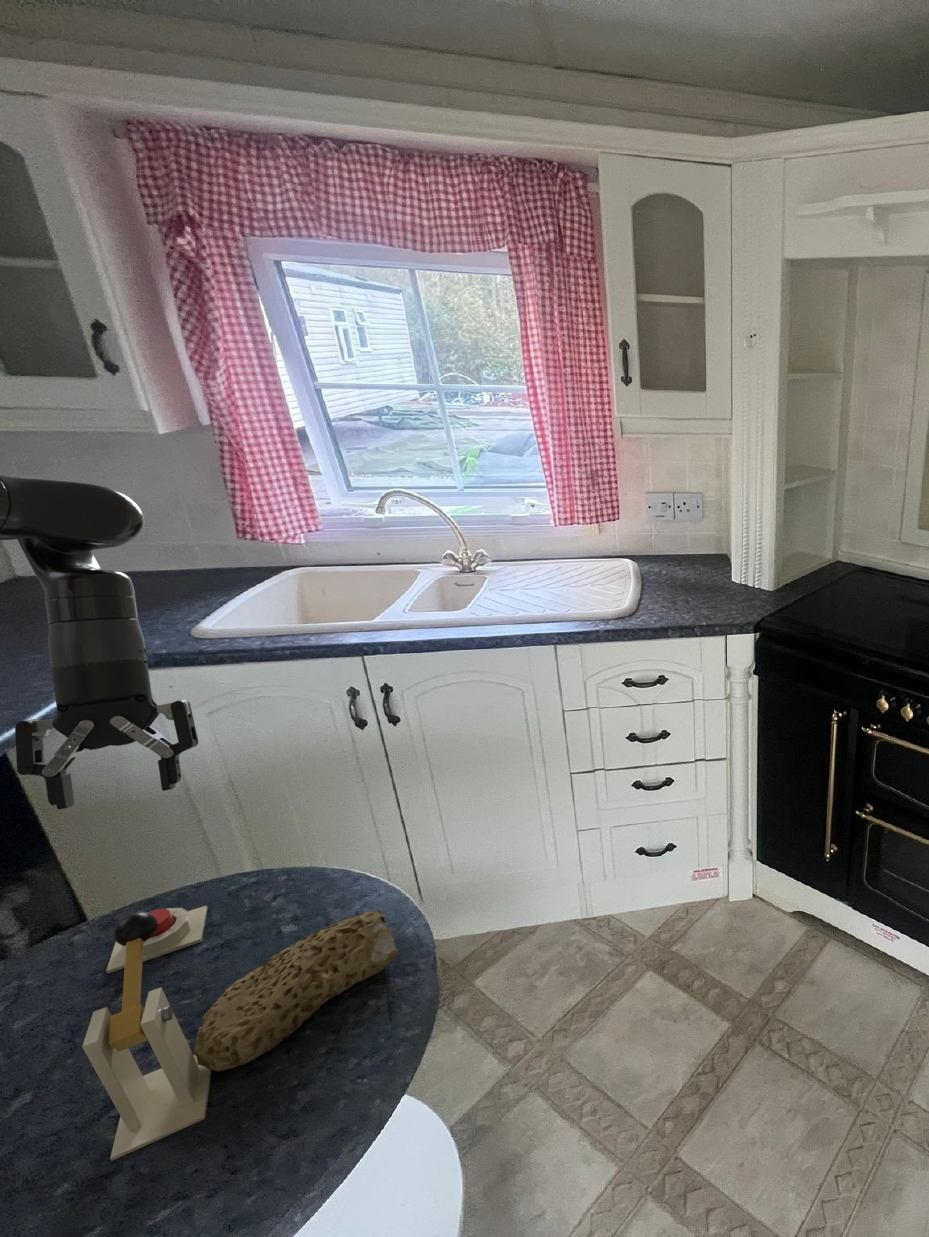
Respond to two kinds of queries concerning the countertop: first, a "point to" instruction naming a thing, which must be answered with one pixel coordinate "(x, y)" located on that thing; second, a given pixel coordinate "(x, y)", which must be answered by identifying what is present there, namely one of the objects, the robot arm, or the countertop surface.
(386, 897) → the countertop surface
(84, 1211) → the countertop surface
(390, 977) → the countertop surface
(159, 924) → the button
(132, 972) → the lever
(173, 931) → the button block
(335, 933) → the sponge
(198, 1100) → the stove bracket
